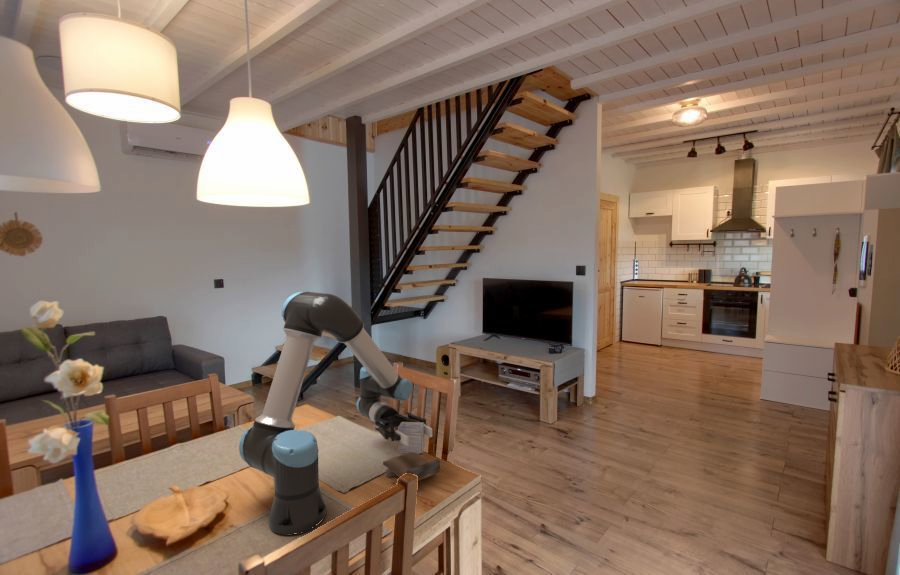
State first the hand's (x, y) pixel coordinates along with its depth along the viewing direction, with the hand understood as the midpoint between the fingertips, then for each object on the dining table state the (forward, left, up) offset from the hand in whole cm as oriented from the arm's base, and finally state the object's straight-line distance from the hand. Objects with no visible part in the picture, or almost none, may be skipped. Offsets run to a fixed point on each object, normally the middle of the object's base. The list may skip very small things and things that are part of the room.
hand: (419, 437), depth 134 cm
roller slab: (+1, +7, -16) cm, 17 cm away
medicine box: (0, +5, -6) cm, 8 cm away
